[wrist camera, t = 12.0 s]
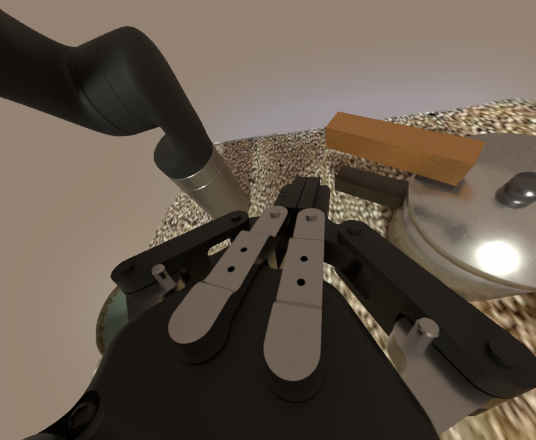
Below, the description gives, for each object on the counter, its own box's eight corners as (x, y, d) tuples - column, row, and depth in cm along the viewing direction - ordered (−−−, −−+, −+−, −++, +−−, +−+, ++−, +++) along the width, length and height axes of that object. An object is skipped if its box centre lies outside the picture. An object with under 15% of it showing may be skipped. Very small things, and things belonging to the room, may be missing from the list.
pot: (572, 228, 30) (697, 177, 20) (555, 348, 25) (707, 362, 15) (354, 170, 44) (362, 123, 34) (317, 240, 40) (312, 210, 29)
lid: (650, 171, 21) (755, 120, 16) (617, 339, 17) (746, 345, 11) (359, 113, 35) (364, 76, 30) (300, 196, 31) (293, 169, 26)
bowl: (175, 367, 36) (139, 377, 29) (122, 344, 41) (80, 347, 34) (203, 288, 41) (178, 280, 34) (153, 275, 46) (122, 266, 39)
